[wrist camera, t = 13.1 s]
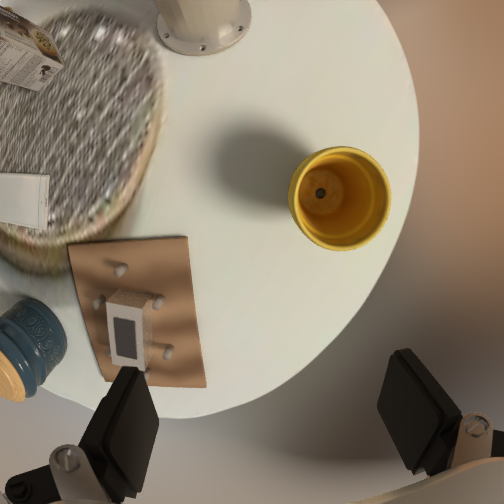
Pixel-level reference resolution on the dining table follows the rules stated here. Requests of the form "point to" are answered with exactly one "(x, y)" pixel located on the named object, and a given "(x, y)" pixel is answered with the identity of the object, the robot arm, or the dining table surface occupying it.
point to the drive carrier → (130, 328)
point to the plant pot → (340, 198)
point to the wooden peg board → (163, 303)
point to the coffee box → (26, 52)
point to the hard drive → (24, 199)
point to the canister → (28, 348)
